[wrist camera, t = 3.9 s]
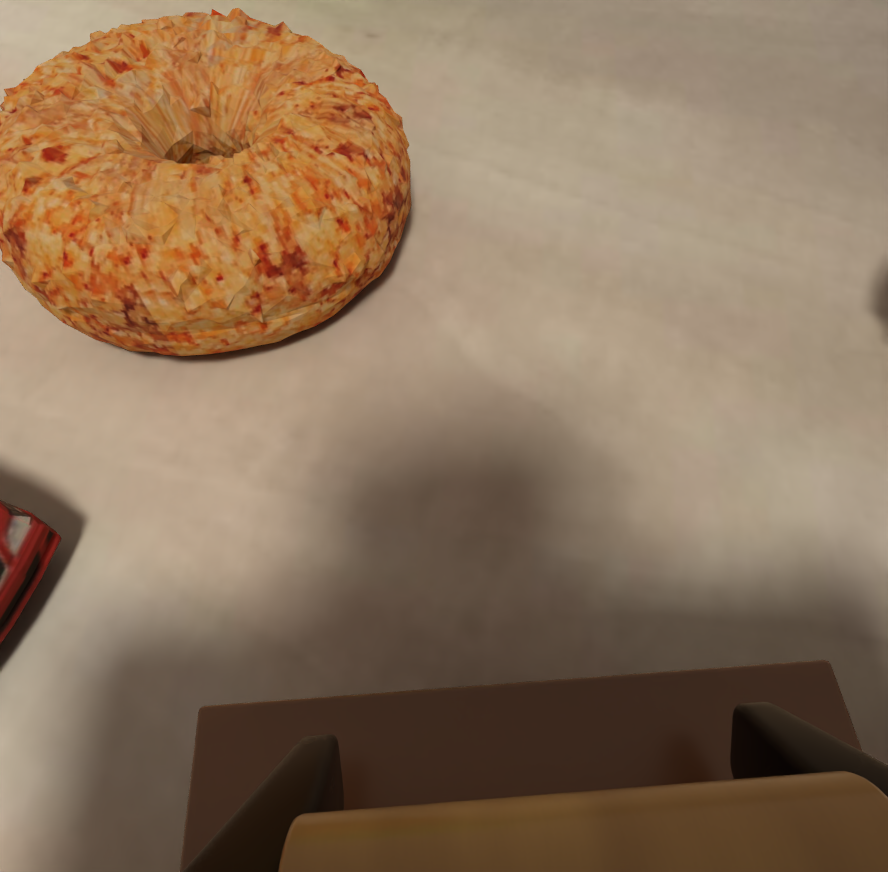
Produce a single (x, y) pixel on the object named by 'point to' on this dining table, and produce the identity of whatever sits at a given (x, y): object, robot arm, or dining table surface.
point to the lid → (551, 778)
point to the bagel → (199, 184)
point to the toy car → (21, 560)
